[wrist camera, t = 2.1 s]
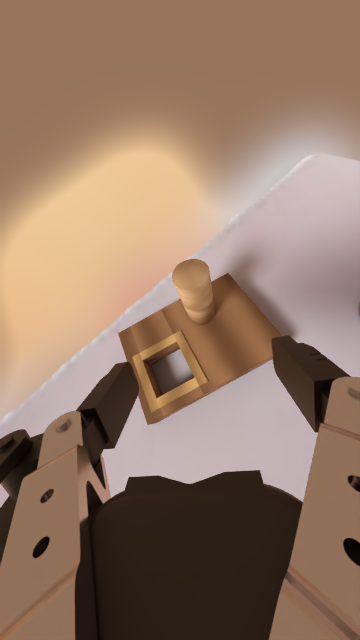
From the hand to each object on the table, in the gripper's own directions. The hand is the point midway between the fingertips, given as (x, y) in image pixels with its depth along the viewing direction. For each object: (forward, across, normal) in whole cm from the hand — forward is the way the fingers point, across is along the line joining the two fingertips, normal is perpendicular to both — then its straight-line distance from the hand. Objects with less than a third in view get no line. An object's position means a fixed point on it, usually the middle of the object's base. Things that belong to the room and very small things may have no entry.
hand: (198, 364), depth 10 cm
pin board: (+17, +2, +7) cm, 18 cm away
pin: (+17, 0, +2) cm, 17 cm away
